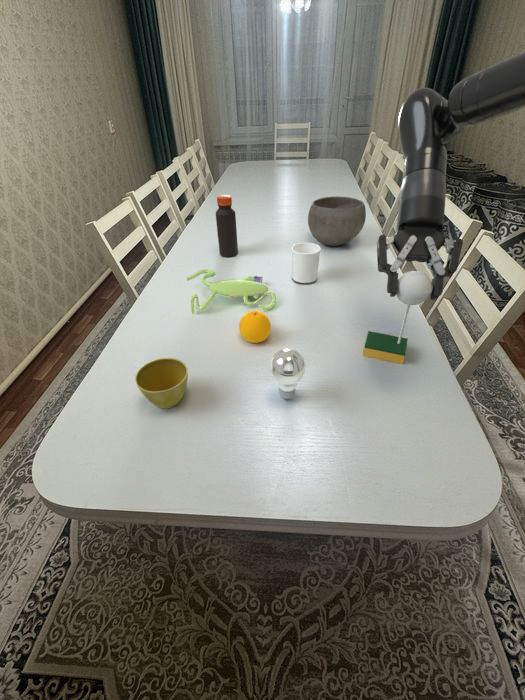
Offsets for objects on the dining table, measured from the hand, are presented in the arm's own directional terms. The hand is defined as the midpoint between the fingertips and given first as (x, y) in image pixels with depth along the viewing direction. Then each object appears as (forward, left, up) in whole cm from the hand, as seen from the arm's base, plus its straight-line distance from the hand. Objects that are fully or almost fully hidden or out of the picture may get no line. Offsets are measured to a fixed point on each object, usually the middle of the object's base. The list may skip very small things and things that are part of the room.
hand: (413, 296), depth 61 cm
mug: (+30, -44, -23) cm, 58 cm away
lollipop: (0, -2, -11) cm, 12 cm away
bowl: (+28, -76, -23) cm, 84 cm away
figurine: (+48, -24, -23) cm, 58 cm away
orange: (+33, -8, -23) cm, 41 cm away
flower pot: (+42, +18, -23) cm, 51 cm away
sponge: (+2, -13, -22) cm, 26 cm away
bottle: (+62, -53, -23) cm, 85 cm away
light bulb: (+19, +9, -23) cm, 31 cm away
